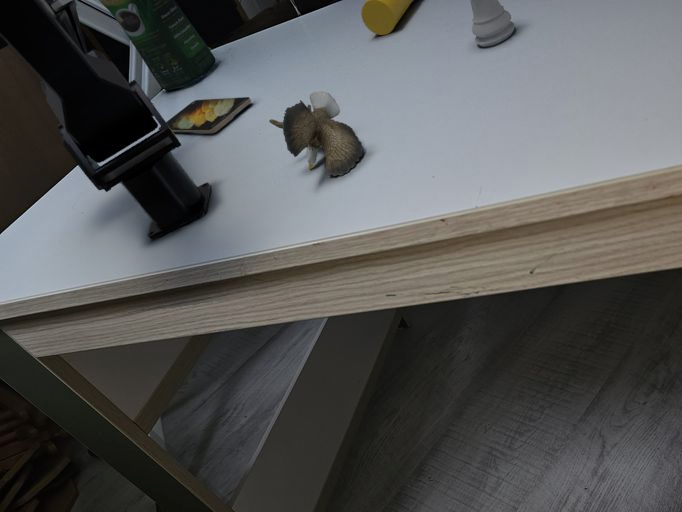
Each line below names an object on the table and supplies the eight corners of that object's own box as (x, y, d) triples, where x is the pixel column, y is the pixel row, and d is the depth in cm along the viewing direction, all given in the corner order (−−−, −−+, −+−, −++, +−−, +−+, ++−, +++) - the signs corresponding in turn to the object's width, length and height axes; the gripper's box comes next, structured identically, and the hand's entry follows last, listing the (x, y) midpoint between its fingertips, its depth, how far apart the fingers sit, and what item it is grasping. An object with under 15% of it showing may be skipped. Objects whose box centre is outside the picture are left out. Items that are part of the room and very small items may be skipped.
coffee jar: (226, 59, 109) (148, -66, 97) (197, 86, 104) (111, -42, 92) (186, 70, 114) (107, -47, 102) (157, 96, 109) (70, -24, 97)
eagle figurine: (269, 163, 69) (281, 176, 61) (268, 86, 66) (280, 90, 59) (346, 166, 72) (366, 179, 64) (347, 92, 69) (368, 96, 61)
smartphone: (194, 99, 97) (251, 96, 87) (197, 104, 98) (254, 101, 88) (156, 129, 94) (210, 129, 84) (159, 133, 95) (214, 134, 85)
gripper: (-65, -51, 71) (50, 88, 81) (-153, -8, 57) (-1, 154, 67) (27, -102, 70) (131, 45, 80) (-40, -70, 56) (97, 104, 66)
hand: (91, 85), depth 73 cm, fingers closed
